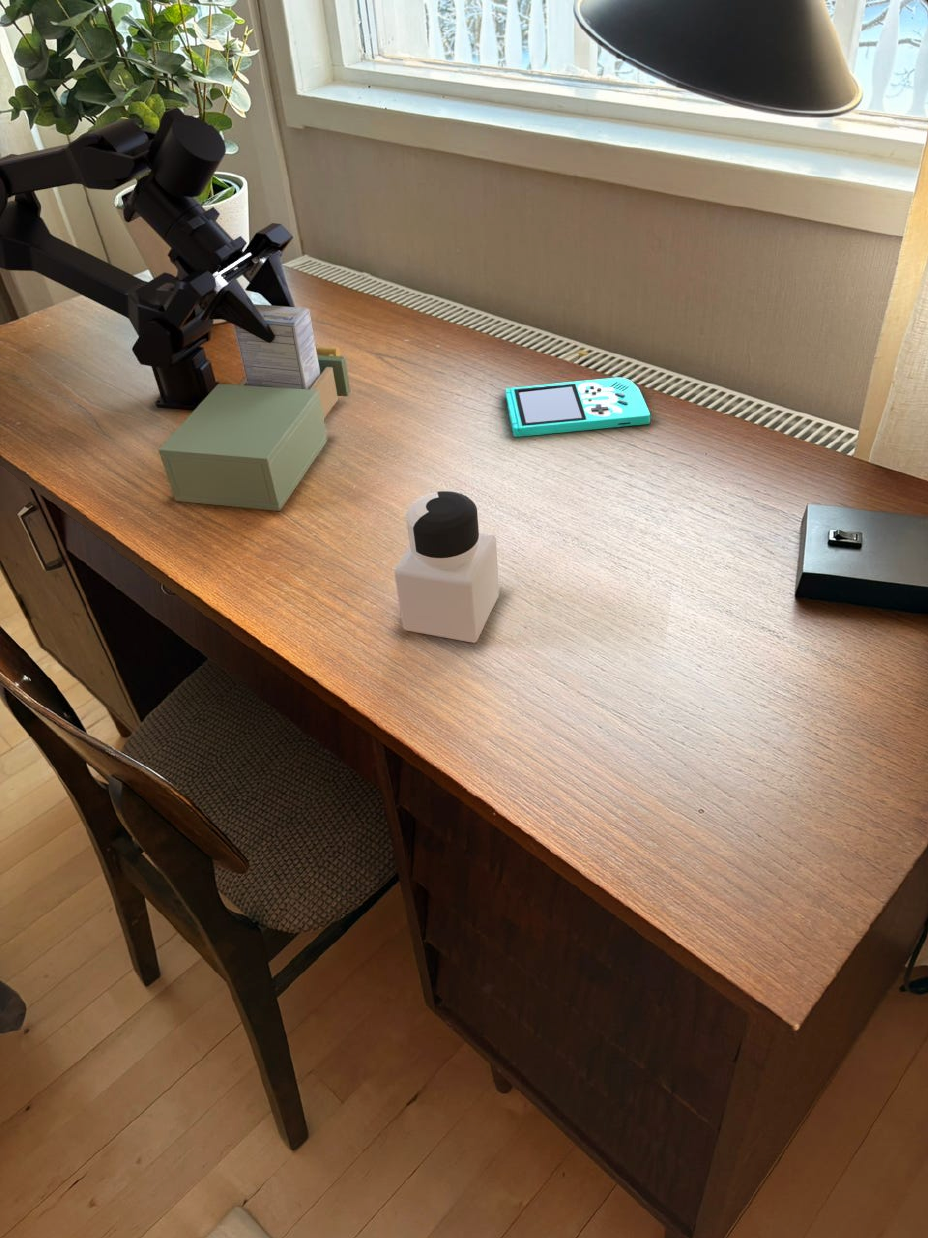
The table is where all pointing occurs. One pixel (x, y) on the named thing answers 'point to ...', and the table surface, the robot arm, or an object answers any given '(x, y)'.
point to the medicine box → (280, 350)
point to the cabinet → (245, 446)
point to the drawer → (328, 378)
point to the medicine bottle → (447, 569)
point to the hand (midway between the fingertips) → (285, 330)
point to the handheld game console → (575, 406)
